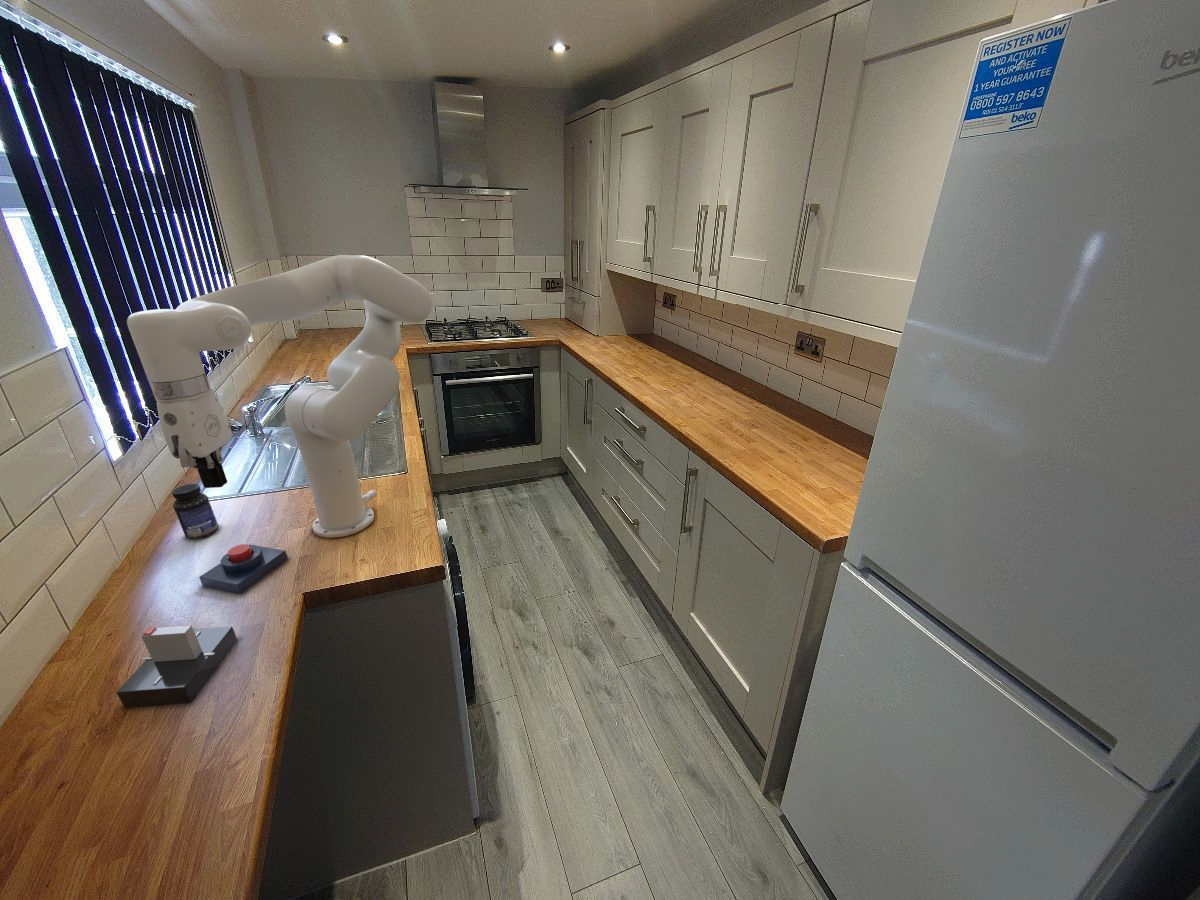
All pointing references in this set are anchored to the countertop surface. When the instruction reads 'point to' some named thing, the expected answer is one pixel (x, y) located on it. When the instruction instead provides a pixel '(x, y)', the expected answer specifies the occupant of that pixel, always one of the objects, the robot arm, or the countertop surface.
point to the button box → (243, 570)
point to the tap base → (178, 672)
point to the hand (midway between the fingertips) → (216, 485)
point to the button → (240, 553)
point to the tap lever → (171, 643)
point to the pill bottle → (194, 512)
